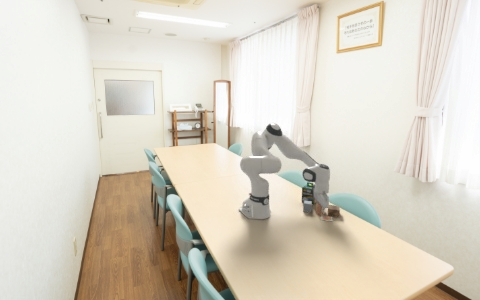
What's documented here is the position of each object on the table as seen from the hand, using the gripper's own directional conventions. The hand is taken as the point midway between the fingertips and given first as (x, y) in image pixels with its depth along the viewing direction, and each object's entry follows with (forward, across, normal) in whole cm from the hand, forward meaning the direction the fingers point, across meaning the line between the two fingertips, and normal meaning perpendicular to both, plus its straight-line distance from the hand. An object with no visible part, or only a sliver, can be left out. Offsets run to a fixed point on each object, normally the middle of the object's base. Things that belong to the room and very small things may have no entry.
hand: (320, 208), depth 175 cm
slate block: (+3, +3, +8) cm, 9 cm away
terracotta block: (+2, 0, 0) cm, 3 cm away
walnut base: (+3, -3, -8) cm, 9 cm away
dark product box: (+3, +18, +2) cm, 19 cm away
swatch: (+2, -9, -1) cm, 10 cm away
